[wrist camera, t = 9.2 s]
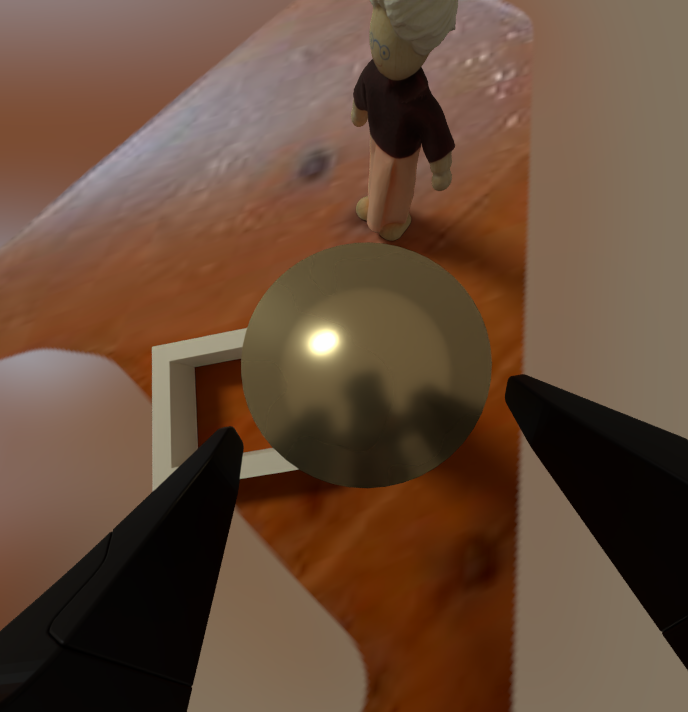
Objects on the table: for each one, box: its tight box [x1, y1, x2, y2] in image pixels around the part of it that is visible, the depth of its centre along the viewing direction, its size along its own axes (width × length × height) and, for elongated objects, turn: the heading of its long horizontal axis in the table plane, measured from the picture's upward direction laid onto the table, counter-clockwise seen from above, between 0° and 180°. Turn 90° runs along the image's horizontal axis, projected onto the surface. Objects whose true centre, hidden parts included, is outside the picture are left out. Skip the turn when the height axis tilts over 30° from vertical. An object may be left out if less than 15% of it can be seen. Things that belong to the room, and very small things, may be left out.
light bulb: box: [241, 243, 492, 488], centre depth 11 cm, size 5×5×13 cm
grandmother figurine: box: [351, 0, 458, 241], centre depth 14 cm, size 8×4×13 cm, turn 51°
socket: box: [152, 328, 299, 491], centre depth 17 cm, size 9×9×2 cm
